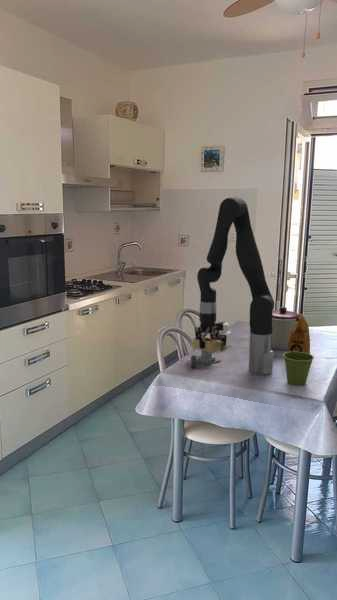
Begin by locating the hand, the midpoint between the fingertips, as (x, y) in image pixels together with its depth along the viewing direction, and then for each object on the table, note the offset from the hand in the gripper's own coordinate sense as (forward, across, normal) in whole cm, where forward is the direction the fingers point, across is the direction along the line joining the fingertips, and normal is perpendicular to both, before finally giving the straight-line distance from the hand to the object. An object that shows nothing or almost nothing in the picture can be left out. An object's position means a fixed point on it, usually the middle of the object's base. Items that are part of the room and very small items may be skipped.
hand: (207, 347), depth 210 cm
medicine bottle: (+7, -24, -12) cm, 27 cm away
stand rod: (+7, +12, +4) cm, 14 cm away
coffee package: (+7, -29, +29) cm, 42 cm away
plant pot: (+7, -8, +43) cm, 44 cm away
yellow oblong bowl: (+1, 0, 0) cm, 1 cm away
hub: (+7, 0, 0) cm, 7 cm away
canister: (+7, -44, +9) cm, 46 cm away
